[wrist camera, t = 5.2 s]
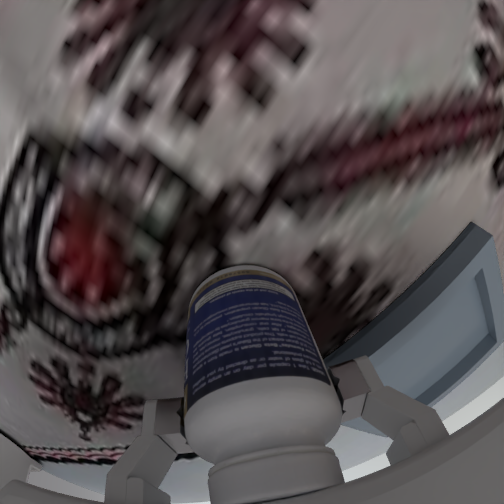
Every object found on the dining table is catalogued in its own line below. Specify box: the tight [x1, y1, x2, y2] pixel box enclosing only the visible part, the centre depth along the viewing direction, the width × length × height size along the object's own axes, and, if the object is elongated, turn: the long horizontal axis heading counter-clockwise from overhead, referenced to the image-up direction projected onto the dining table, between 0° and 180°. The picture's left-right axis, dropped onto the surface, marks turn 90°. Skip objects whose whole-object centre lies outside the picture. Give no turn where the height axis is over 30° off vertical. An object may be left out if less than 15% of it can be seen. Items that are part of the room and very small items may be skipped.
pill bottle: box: [184, 265, 345, 504], centre depth 10 cm, size 5×5×10 cm
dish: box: [323, 222, 504, 437], centre depth 18 cm, size 16×16×2 cm
